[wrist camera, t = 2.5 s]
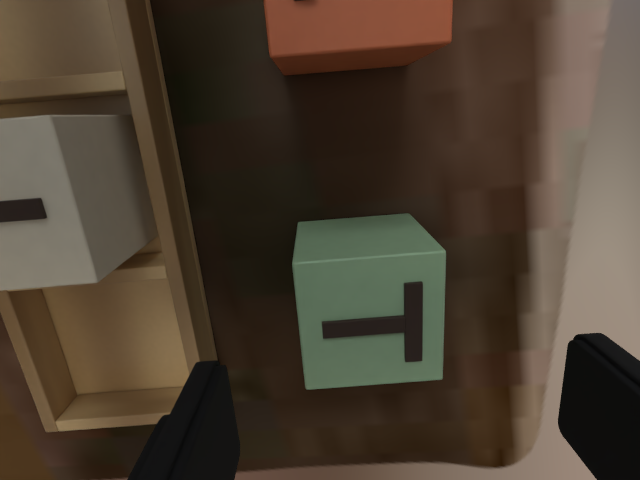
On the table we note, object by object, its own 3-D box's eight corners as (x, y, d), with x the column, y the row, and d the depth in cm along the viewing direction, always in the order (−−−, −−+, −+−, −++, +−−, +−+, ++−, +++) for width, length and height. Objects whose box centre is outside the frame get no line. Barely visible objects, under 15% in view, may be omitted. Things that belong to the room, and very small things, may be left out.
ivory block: (45, 244, 17) (-67, 298, 12) (6, 125, 15) (-140, 130, 10) (159, 235, 17) (95, 286, 12) (132, 114, 15) (46, 114, 10)
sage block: (307, 320, 19) (305, 393, 14) (297, 221, 17) (291, 264, 12) (410, 312, 19) (444, 383, 14) (409, 212, 17) (448, 252, 12)
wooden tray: (74, 397, 20) (45, 433, 18) (-105, -133, 13) (-190, -183, 11) (223, 386, 20) (212, 420, 18) (121, -152, 13) (82, -207, 11)
